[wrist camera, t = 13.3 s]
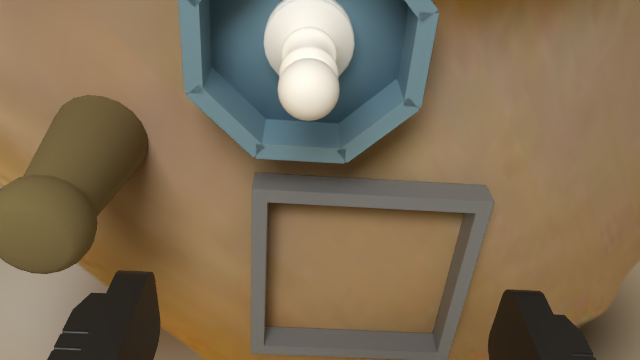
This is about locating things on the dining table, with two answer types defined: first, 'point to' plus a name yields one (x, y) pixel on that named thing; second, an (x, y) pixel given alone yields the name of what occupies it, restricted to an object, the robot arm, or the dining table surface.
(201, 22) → the bowl
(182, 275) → the dining table surface
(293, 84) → the chess pawn
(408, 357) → the grey square frame
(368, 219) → the dining table surface
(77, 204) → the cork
